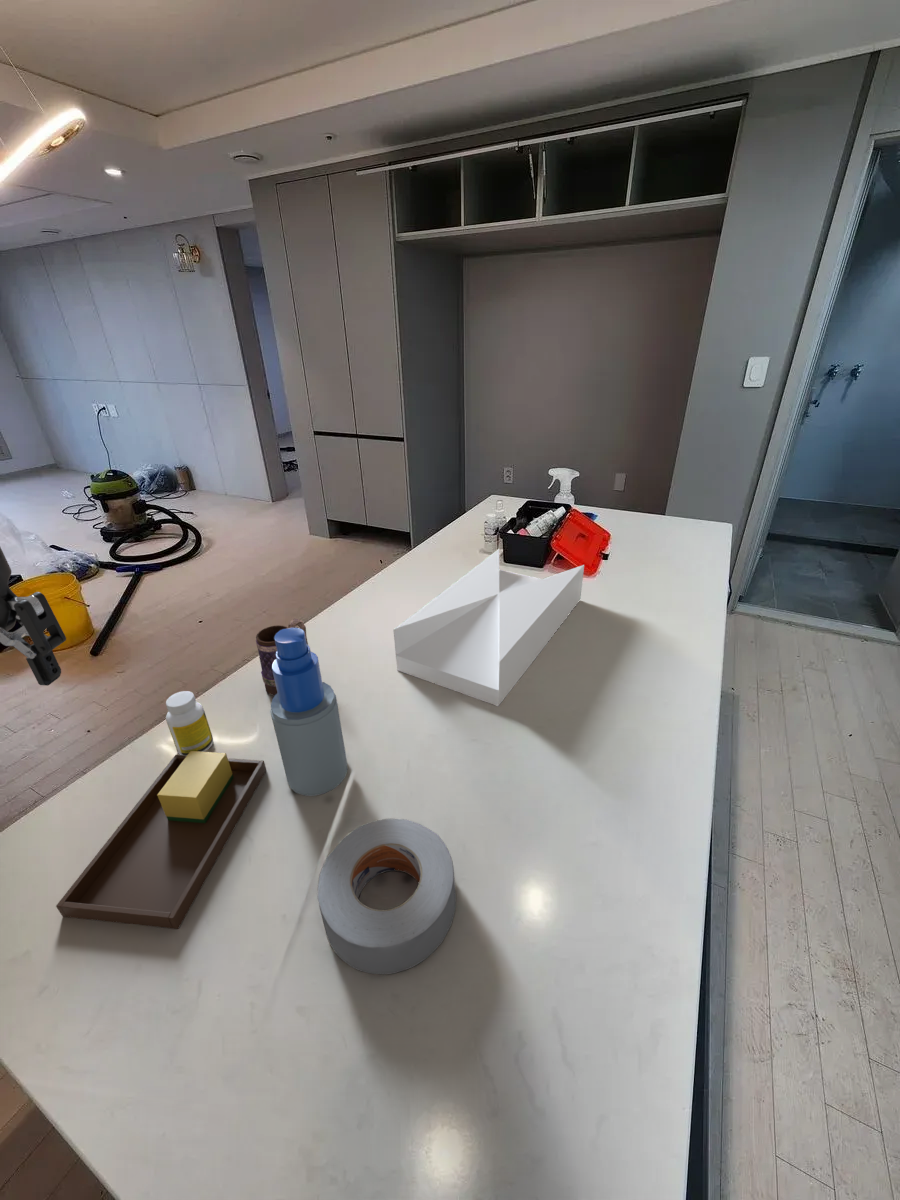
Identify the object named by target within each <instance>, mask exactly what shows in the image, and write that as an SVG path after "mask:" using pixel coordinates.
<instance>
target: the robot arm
mask: <svg viewBox="0 0 900 1200" xmlns="http://www.w3.org/2000/svg"><path fill="white" fill-rule="evenodd" d="M11 576H12V568H11V566H10V564H9V561H8V560H7V558H6V556H5V553H4V551H3V550H2V548H1V546H0V644H2V645H3V646H5V647H13V648H14V649H16V650H17V651H18V652H20V653H21V654H22V655H23V656H25V657H26V658H25V660H26V662H27V664H28V666H29V667H30V670H31V672H32V674H33V676H34V678H35V680H36V682H37V684H38V685H40V686H50V685H51V684H53V683H54V682H55V681H56V680H58V679H59V678H60V677H61V674H62V668H61V666H60V664H59V662H58V660H57V657H56V655H55V654H54V651H53V650H54V649H56V648H57V647H59V646H60V645H61V644H63V643H64V642H66V641H67V637H66V635H65V633H64V631H63V629H62V627H61V625H60V622H59V621H58V619H57V617H56V615H55V613H54V611H53V609H52V607H51V605H50V603H49V601H48V599H47V598H46V596H45V594H43V593H42V592H40V591H35V592H34V593H31V594H30V595H29V596H18V595H17V594H15V593H14V592H13V590H12V589H11V587H10V586H9V580H10V577H11ZM16 622H17V623H18V624H19V625H20V627H19V628H17V629H16V630H14V631H10V630H12V629H13V628H14V627H15V625H16V624H17V623H16ZM45 630H47V632H48V634H49V635H47V634H45ZM24 637H29V638H30V639H31V641H32V644H30V643H29V642H27V641H26V640H25V639H24Z"/></svg>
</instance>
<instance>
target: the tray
mask: <svg viewBox="0 0 900 1200" xmlns="http://www.w3.org/2000/svg"><path fill="white" fill-rule="evenodd" d="M185 758H186V756H185V755H180V754H175V755H173V757H172V758H171V760H170V761H169V762H168V763H167V765H166V766H165V767H164V769H163V770H162V771H161V773H159V775H158V776H157V777H156V779H155V780H154V781H153V783H151V785H150V787H149V788H148V789H147V790H146V791H145V793H144V794H143V795H142V796H141V797H140V799H139V800H138V801H137V802H136V804H135V805H134V807H132V809H131V810H130V811H129V813H128V814H127V815H126V817H125V818H123V820H122V822H121V823H120V824H119V825H118V827H117V828H116V829H115V831H114V832H113V833H112V834H111V835H110V837H108V839H107V841H106V842H105V843H104V844H103V845H102V846H101V848H100V850H99V851H98V852H97V853H96V855H95V856H94V857H93V858H92V860H91V861H90V862H89V864H87V866H86V868H85V869H84V870H83V871H82V872H81V874H80V875H79V876H78V877H77V879H76V880H75V881H74V882H73V884H72V885H71V886H70V887H69V888H68V890H67V891H66V893H65V894H64V895H63V897H62V898H61V899H60V900H59V901H58V903H57V904H55V908H56V909H57V910H58V913H60V915H61V917H63V918H71V919H80V920H89V921H97V922H98V921H99V922H107V923H117V924H126V925H135V926H145V927H154V928H164V929H173V930H179V929H180V927H181V925H182V923H183V922H184V920H185V918H186V916H187V914H188V913H189V911H190V909H191V907H192V905H193V903H194V902H195V900H196V898H197V896H198V894H199V893H200V891H201V889H202V888H203V886H204V883H205V882H206V880H207V878H208V877H209V875H210V873H211V871H212V869H213V868H214V866H215V865H216V863H217V860H218V859H219V857H220V855H221V853H222V851H223V850H224V848H225V846H226V844H227V843H228V841H229V839H230V837H231V836H232V833H233V832H234V830H235V828H236V826H237V824H238V823H239V821H240V819H241V817H242V816H243V814H244V812H245V811H246V808H247V806H248V805H249V803H250V801H251V800H252V798H253V796H254V794H255V793H256V790H257V789H258V787H259V785H260V783H261V782H262V780H263V778H264V776H265V774H266V772H267V767H266V764H265V761H264V760H259V759H258V760H256V759H244V758H243V759H241V758H229V757H227V758H228V761H229V764H230V767H231V771H232V774H233V777H234V778H233V780H232V781H231V783H230V784H229V786H228V788H227V789H226V791H225V793H224V794H223V796H222V797H221V799H220V801H219V802H218V804H217V805H216V807H215V809H214V810H213V812H212V814H211V815H210V817H209V818H208V820H207V822H206V823H196V822H183V821H171V820H168V819H167V816H166V815H165V812H164V810H163V808H162V805H161V803H160V801H159V798H158V796H157V794H158V793H159V792H160V790H161V789H162V788H163V787H164V785H165V784H166V783H167V781H168V780H169V779H170V777H171V776H172V775H173V773H174V772H175V771H176V769H177V768H178V767H179V765H180V764H181V763H182V762H183V760H184V759H185Z"/></svg>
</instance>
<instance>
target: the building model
mask: <svg viewBox="0 0 900 1200" xmlns="http://www.w3.org/2000/svg"><path fill="white" fill-rule="evenodd" d="M584 571H585V564H581V565H579V566H576V567H573V568H570V569H567V570H564V571H561V572H558V573H555V574H552V575H550V576H546V577H544V578H540V577H535V576H532V575H526V574H523V573H522V574H521V573H516V572H513V571H509V570H503V569H500V548H497V550H495V551H494V552H493V553H491V554H490V555H488V556H487V557H486V558H485V559H484V560H482V561H480V562H479V563H478V564H476V566H474V567H473V568H471V569H470V570H469V571H467V572H466V573H465V574H463V576H461V577H460V578H458V580H456V581H455V582H453V583H452V584H450V585H449V586H448V587H447V588H445V589H444V590H442V591H441V592H440V593H439V594H438V595H436V596H434V597H433V598H432V599H431V600H429V602H427V603H426V604H425V605H423V606H422V607H421V608H419V609H418V610H416V611H415V612H414V613H412V614H411V615H410V616H409V617H407V618H406V619H405V620H404V621H402V622H401V623H400V624H398V625H397V626H396V627H394V628H393V631H392V632H393V641H394V652H395V662H396V671H398V672H401V673H403V674H407V675H409V676H412V677H415V678H417V679H421V680H424V681H426V682H429V683H432V684H434V683H435V685H438V686H440V687H443V688H446V689H449V690H451V691H454V692H457V693H460V694H463V695H464V696H469V697H471V698H474V699H476V700H478V701H482V702H485V703H488V704H491V705H494V706H496V707H499V706H501V704H502V702H503V701H504V700H505V698H506V697H507V696H508V695H509V693H510V692H511V690H512V689H513V688H514V687H515V686H516V684H517V683H518V682H519V681H520V679H521V678H522V677H523V675H524V674H525V673H526V672H527V670H528V669H529V667H530V666H531V665H532V663H533V662H534V661H535V660H536V658H537V657H538V656H539V655H540V653H541V652H542V651H543V649H544V648H545V647H546V646H547V644H548V643H549V642H550V641H551V639H552V638H553V637H554V635H555V634H556V633H557V631H558V630H559V629H560V627H561V626H562V625H563V624H562V622H563V621H564V620H565V619H566V620H567V618H568V617H569V616H568V614H569V613H570V612H571V610H572V609H573V608H574V607H575V605H576V604H577V603H578V601H579V600H580V599H582V598H581V597H582V589H583V580H584ZM580 601H581V600H580ZM578 604H579V603H578ZM578 604H577V605H578ZM577 605H576V606H577ZM575 608H576V607H575ZM575 608H574V609H575ZM574 609H573V610H574ZM571 613H572V612H571ZM571 613H570V614H571ZM567 616H568V617H567ZM566 617H567V618H566ZM566 620H565V621H566ZM565 621H564V622H565ZM564 622H563V623H564ZM561 624H562V625H561ZM560 625H561V626H560ZM559 626H560V627H559ZM558 628H559V629H558ZM557 629H558V630H557ZM555 632H556V633H555ZM554 633H555V634H554ZM551 637H552V638H551ZM548 641H549V642H548Z"/></svg>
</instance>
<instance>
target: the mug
mask: <svg viewBox="0 0 900 1200" xmlns="http://www.w3.org/2000/svg"><path fill="white" fill-rule="evenodd" d="M297 627H298V628H300V629H302V630H303V631H304V632H305V637H306V643H307V645H309V642H308V637H307V627H306V625H305V623H304V622H303V621H302V619H301V618H293V619H292V620H290V622H289V623H288V625H287V626H285V625H278V624H277V625H270V626H267V627H265V628H263V629H261V630H259V631H258V632H257V633H256V635H255V644H256V648H257V652H258V657H259V662H260V667H261V668H260V669H261V672H260V673H261V678H262V681H263V683H264V688H265V691H266V693H267V694H269V695H271V696H273V697H274V696H275V695H276V694H277V688H276V684H275V680H274V675H273V671H272V664H273V662H274V661H275V660H276V651H277V648H276V644H275V639H274V637H275V635H276V633H277V632H279V631H280V630H282V629H286V628H297Z"/></svg>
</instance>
